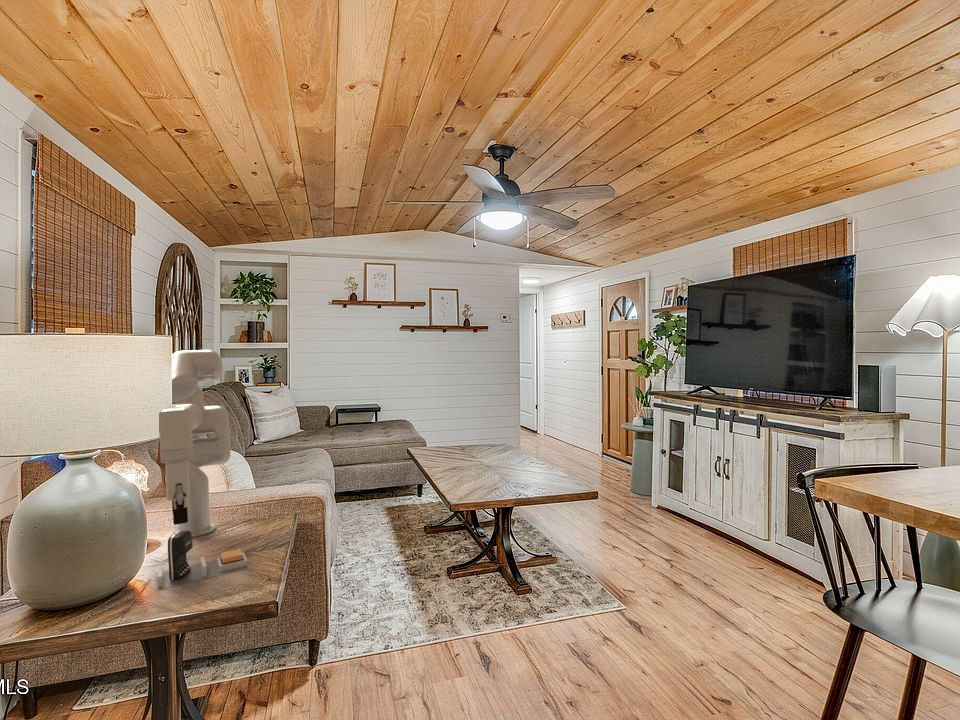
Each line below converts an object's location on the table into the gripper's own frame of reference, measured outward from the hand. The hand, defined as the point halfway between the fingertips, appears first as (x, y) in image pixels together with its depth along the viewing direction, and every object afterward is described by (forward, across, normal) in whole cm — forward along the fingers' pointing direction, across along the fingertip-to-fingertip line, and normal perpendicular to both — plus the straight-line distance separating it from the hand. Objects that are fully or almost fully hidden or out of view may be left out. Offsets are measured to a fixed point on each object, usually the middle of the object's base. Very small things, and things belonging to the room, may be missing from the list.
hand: (180, 517), depth 136 cm
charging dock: (+17, +1, +5) cm, 18 cm away
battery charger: (+16, +1, 0) cm, 16 cm away
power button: (+14, +1, +12) cm, 18 cm away
